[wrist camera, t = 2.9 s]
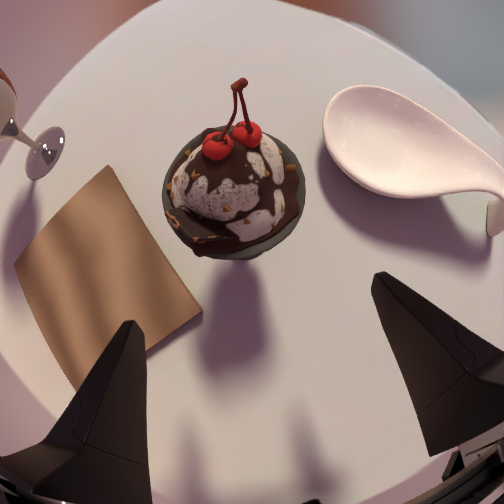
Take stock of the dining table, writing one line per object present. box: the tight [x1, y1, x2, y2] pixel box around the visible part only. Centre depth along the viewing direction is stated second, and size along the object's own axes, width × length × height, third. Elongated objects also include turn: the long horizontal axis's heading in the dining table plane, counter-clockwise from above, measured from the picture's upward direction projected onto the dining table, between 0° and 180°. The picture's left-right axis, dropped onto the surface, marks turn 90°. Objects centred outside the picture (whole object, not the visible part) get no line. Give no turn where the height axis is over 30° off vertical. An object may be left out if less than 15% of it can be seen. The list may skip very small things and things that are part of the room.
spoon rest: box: [322, 85, 504, 237], centre depth 19 cm, size 24×12×7 cm, turn 71°
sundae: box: [162, 78, 306, 260], centre depth 15 cm, size 7×7×15 cm
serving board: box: [14, 165, 203, 392], centre depth 21 cm, size 16×16×1 cm
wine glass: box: [0, 68, 65, 180], centre depth 16 cm, size 8×8×15 cm
